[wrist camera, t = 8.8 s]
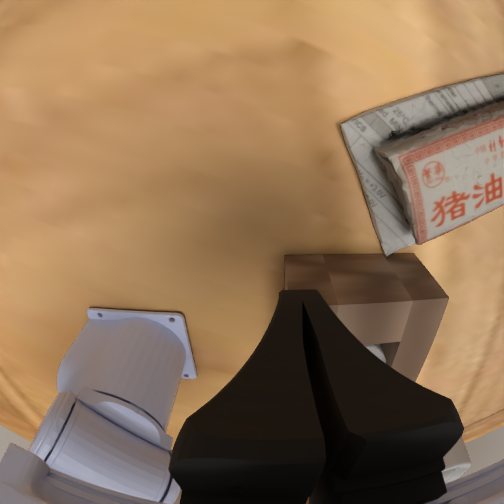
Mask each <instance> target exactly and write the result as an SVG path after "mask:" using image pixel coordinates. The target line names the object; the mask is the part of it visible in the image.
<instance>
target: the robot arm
mask: <svg viewBox="0 0 504 504" xmlns="http://www.w3.org/2000/svg"><path fill="white" fill-rule="evenodd" d="M100 313H101V314H102V315H101V314H100ZM87 315H88V317H89V320H88V321H87V323H86V324H85V326H84V327H83V329H82V330H81V332H80V333H79V335H78V336H77V338H76V339H75V340H74V342H73V343H72V345H71V347H70V348H69V350H68V351H67V353H66V354H65V356H64V357H63V359H62V361H61V363H60V366H59V370H58V375H57V389H58V393H59V394H58V395H57V397H56V398H55V400H54V401H53V403H52V405H51V406H50V408H49V410H48V412H47V413H46V415H45V417H44V419H43V421H42V423H41V425H40V426H39V428H38V430H37V432H36V434H35V436H34V438H33V441H32V443H31V445H30V448H29V451H27V450H25V449H23V448H21V447H19V446H17V445H16V444H14V443H10V444H9V446H8V448H7V450H6V452H5V454H4V456H3V458H2V460H1V463H0V504H173V503H174V502H175V500H176V498H177V496H178V494H179V492H180V489H182V494H181V499H180V504H306V501H307V499H308V497H309V504H504V459H503V460H501V461H499V462H497V463H494V464H492V465H490V466H488V467H486V468H484V469H481V470H479V471H477V472H474V473H472V474H470V475H467V476H465V477H462V478H460V479H457V480H454V481H451V482H449V483H446V484H445V481H444V478H443V474H442V471H443V470H444V469H445V462H444V459H443V457H444V456H445V455H446V454H447V453H448V452H449V451H450V450H451V449H452V447H453V446H454V445H455V444H456V443H457V442H458V440H459V439H460V437H461V436H462V434H463V430H464V427H463V425H462V422H461V419H460V417H459V414H458V412H457V409H456V408H455V406H454V404H453V402H452V400H451V399H449V398H447V397H445V396H442V395H440V394H438V393H436V392H433V391H431V390H429V389H427V388H425V387H423V386H421V385H419V384H417V383H416V382H414V381H412V380H410V379H409V378H407V377H405V376H404V375H402V374H401V373H399V372H397V371H396V370H395V369H393V368H392V367H390V366H389V365H387V364H386V363H385V362H383V361H382V360H381V359H379V358H378V357H377V356H376V355H374V354H373V353H372V352H371V351H370V350H369V349H367V348H366V347H365V346H364V345H363V344H362V343H361V342H360V341H359V340H358V339H357V338H356V337H355V336H354V335H353V334H352V333H351V332H350V331H349V330H348V328H347V327H346V326H345V325H344V324H343V323H342V322H341V320H340V319H339V318H338V317H337V316H336V314H335V313H334V312H333V311H332V309H331V308H330V307H329V305H328V304H327V303H326V301H325V300H324V298H323V297H322V296H321V294H320V293H319V291H318V290H317V289H302V290H282V291H280V292H279V299H278V303H277V307H276V310H275V312H274V315H273V317H272V320H271V322H270V324H269V326H268V328H267V330H266V332H265V334H264V336H263V338H262V339H261V341H260V343H259V344H258V346H257V348H256V349H255V351H254V352H253V354H252V355H251V356H250V358H249V359H248V361H247V362H246V363H245V364H244V366H243V367H242V368H241V369H240V371H239V372H238V373H237V374H236V375H235V376H234V378H233V379H232V380H231V381H230V382H229V383H228V384H227V385H226V386H225V387H224V388H223V389H222V390H221V391H220V392H219V393H218V394H217V395H216V396H214V397H213V398H212V399H211V400H210V401H209V402H207V403H206V404H205V405H204V406H202V407H201V408H200V409H198V410H197V411H196V412H195V413H193V414H192V415H191V416H189V417H188V418H187V419H186V421H185V422H184V424H183V426H182V428H181V430H180V432H179V434H178V437H177V439H176V442H175V444H174V447H173V450H171V445H172V441H173V437H171V436H169V435H168V434H166V430H167V426H168V423H169V419H170V415H171V412H172V408H173V404H174V401H175V397H176V393H177V390H178V386H179V383H180V379H181V378H184V379H195V378H196V377H197V371H196V367H195V363H194V359H193V355H192V350H191V346H190V342H189V337H188V333H187V328H186V323H185V318H184V316H183V315H182V314H180V313H169V312H147V311H130V310H114V309H101V308H89V309H88V310H87ZM171 318H174V320H173V319H171ZM187 374H188V375H187Z"/></svg>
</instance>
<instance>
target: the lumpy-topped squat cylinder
mask: <svg viewBox="0 0 504 504" xmlns="http://www.w3.org/2000/svg"><path fill="white" fill-rule="evenodd" d="M443 459H444V462H445V469H444V470H443V471H442V474H443V478H444V481H445V484H446V483H449V482H451V481H454V480H457V479H458V478H459V477H460V476H461V475H462V474H464V473H465V471H466V470H468V469H469V467H470V466H471V461H470V458H469V455H468V452H467V450H466V447H465V444H464V441H463V438H462V436H461V437H460V439H459V440H458V442H457V443H456V444H455V445H454V446H453V447H452V449H451V450H450V451H449V452H448V453H447V454H446V455H445V456H444V457H443Z"/></svg>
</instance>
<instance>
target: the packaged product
mask: <svg viewBox="0 0 504 504" xmlns="http://www.w3.org/2000/svg"><path fill="white" fill-rule="evenodd" d="M340 127H341V130H342V133H343V137H344V140H345V143H346V146H347V149H348V151H349V153H350V156H351V158H352V160H353V163H354V165H355V168H356V170H357V173H358V176H359V179H360V182H361V185H362V188H363V191H364V195H365V198H366V201H367V205H368V208H369V211H370V215H371V218H372V222H373V226H374V228H375V231H376V233H377V236H378V238H379V241H380V243H381V245H382V248H383V251H384V253H385V255H386V256H388V255H390V254H392V253H393V252H396V251H398V250H400V249H402V248H404V247H410V246H412V245H414V244H417V245H421V244H423V243H425V242H427V241H429V240H432V239H435V238H437V237H439V236H441V235H444V234H446V233H448V232H450V231H452V230H454V229H456V228H458V227H460V226H463V225H465V224H467V223H469V222H471V221H473V220H475V219H477V218H479V217H480V216H482V215H485V214H487V213H489V212H491V211H493V210H495V209H497V208H499V207H501V206H503V205H504V74H499V75H493V76H487V77H482V78H477V79H472V80H468V81H464V82H460V83H456V84H452V85H448V86H443V87H439V88H436V89H432V90H429V91H425V92H422V93H419V94H416V95H412V96H409V97H406V98H403V99H400V100H397V101H394V102H391V103H388V104H385V105H383V106H380V107H377V108H374V109H371V110H369V111H366V112H363V113H361V114H359V115H357V116H355V117H353V118H351V119H349V120H347V121H345V122H344V123H342V124H340Z"/></svg>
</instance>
